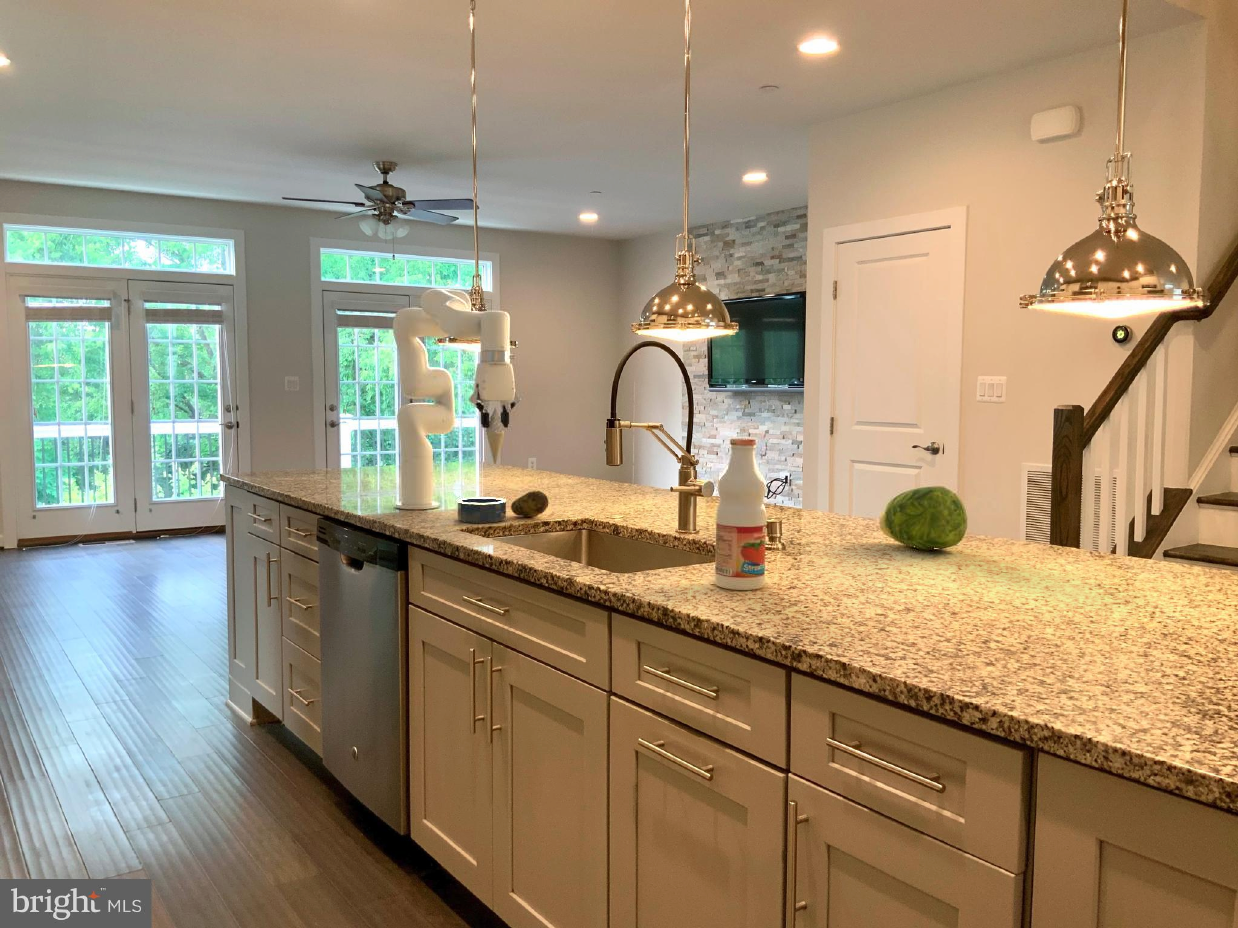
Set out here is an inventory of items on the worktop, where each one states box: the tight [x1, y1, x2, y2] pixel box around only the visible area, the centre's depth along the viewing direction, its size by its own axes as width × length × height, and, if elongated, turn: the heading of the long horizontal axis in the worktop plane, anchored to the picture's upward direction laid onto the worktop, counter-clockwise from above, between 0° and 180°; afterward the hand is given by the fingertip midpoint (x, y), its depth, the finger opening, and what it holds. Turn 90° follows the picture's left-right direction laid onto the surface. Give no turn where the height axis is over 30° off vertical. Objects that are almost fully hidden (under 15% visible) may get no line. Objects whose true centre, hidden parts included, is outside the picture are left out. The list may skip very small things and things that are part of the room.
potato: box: [510, 490, 550, 518], centre depth 263 cm, size 8×13×8 cm, turn 27°
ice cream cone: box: [485, 407, 506, 465], centre depth 246 cm, size 5×5×15 cm
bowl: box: [456, 497, 507, 524], centre depth 257 cm, size 13×13×6 cm
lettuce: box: [878, 485, 968, 552], centre depth 220 cm, size 16×21×15 cm
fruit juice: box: [714, 438, 767, 591], centre depth 176 cm, size 9×9×28 cm
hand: (495, 426), depth 246 cm, fingers closed on ice cream cone, 4 cm apart
